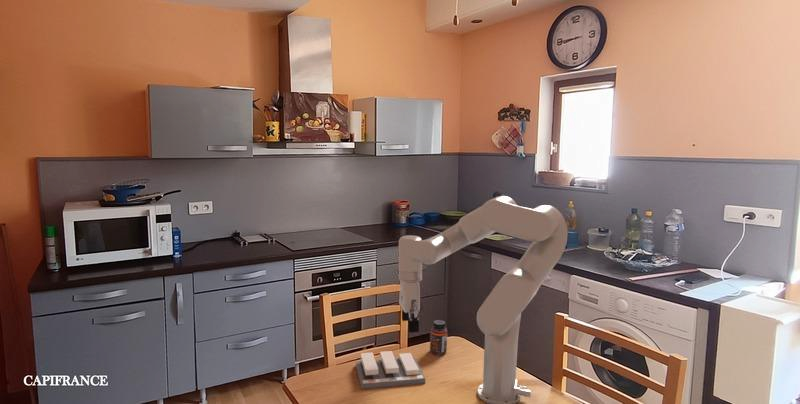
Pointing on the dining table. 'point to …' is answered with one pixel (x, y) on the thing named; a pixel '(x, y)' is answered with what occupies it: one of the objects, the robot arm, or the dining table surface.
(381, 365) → the switch board
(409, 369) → the switch
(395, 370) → the middle switch
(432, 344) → the supplement bottle
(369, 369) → the switch
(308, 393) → the dining table surface
